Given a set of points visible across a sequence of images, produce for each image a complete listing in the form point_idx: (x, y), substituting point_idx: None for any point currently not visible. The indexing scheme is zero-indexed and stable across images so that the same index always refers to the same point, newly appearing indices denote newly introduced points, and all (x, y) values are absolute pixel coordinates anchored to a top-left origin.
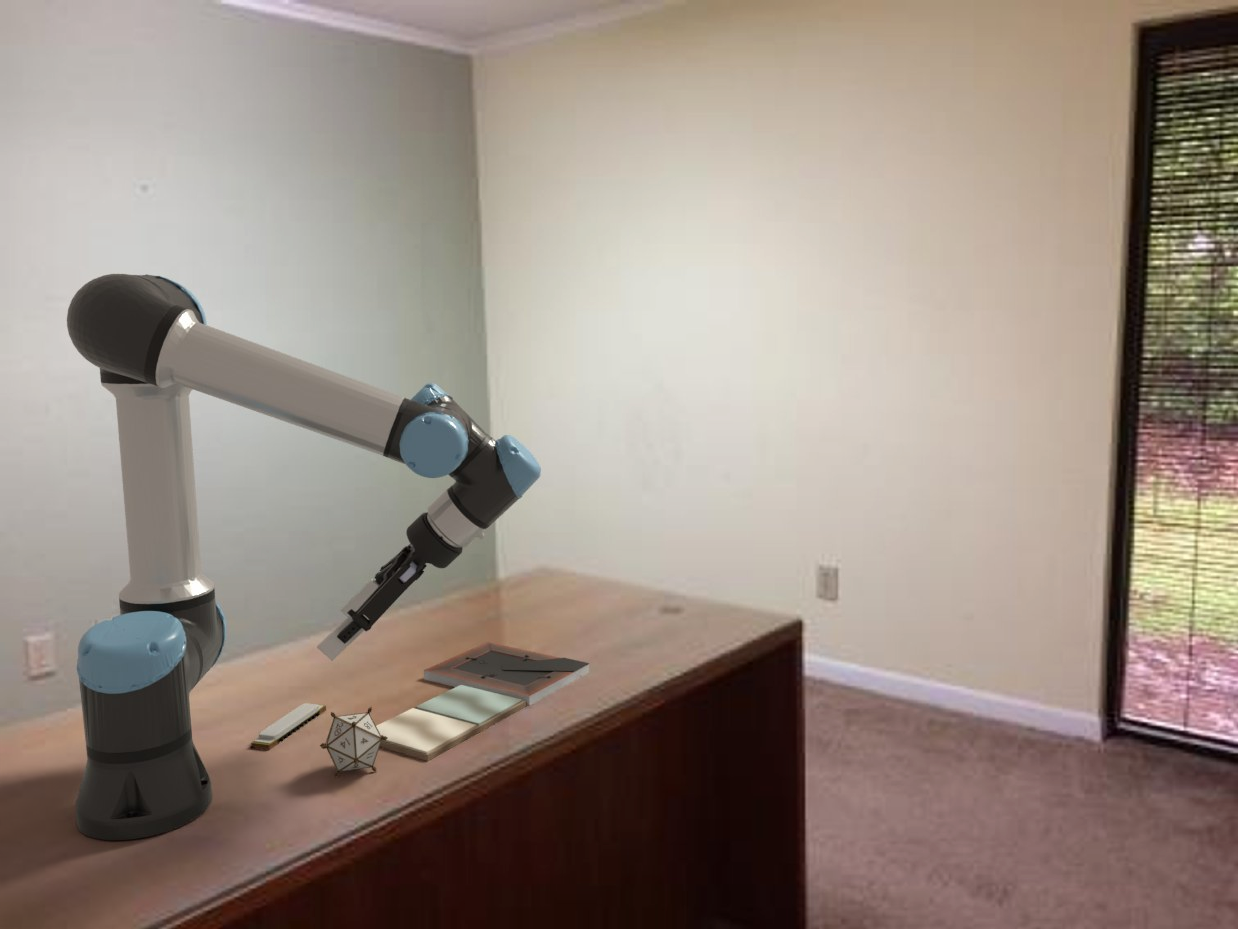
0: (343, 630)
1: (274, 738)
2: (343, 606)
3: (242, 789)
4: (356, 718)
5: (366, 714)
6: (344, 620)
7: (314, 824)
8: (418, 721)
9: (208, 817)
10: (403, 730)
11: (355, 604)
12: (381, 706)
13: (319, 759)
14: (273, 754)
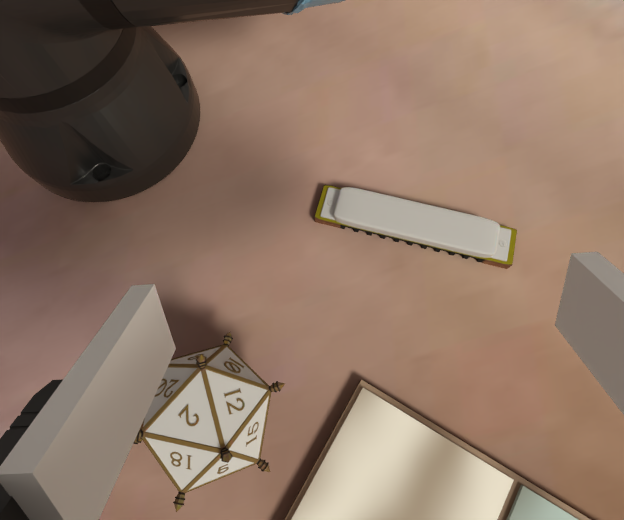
0: (14, 422)
1: (336, 219)
2: (593, 263)
3: (162, 230)
4: (186, 428)
5: (209, 450)
6: (54, 413)
7: (13, 394)
8: (433, 514)
9: (72, 213)
10: (378, 486)
11: (606, 324)
12: (546, 384)
13: (273, 324)
14: (296, 234)
